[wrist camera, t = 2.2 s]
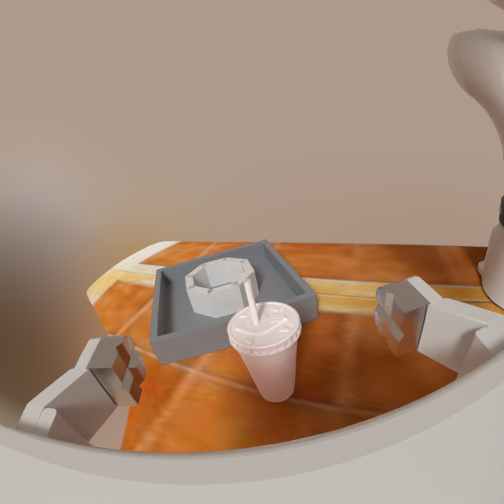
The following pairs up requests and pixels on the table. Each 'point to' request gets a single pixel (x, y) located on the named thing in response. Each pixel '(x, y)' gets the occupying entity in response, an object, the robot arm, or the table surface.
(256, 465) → the robot arm
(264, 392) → the smoothie
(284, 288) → the tray
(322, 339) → the table surface
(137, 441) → the table surface
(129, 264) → the table surface
